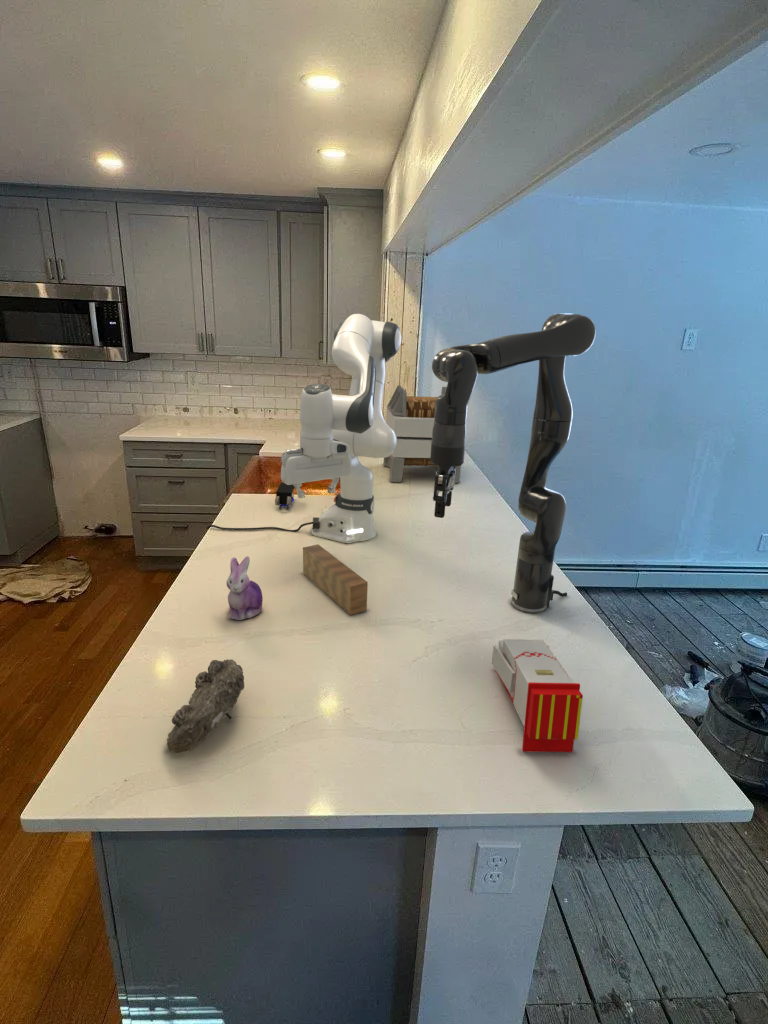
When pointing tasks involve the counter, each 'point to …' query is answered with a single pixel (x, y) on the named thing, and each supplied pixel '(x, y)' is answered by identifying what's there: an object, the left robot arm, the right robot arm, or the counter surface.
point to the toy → (539, 694)
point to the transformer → (411, 432)
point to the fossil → (206, 705)
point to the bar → (335, 579)
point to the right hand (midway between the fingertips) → (442, 511)
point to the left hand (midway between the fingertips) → (316, 495)
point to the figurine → (243, 592)
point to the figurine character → (284, 495)
